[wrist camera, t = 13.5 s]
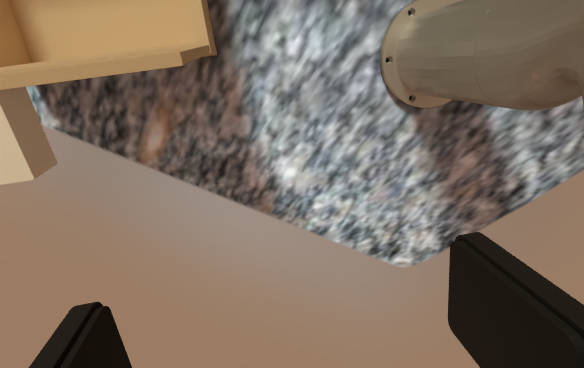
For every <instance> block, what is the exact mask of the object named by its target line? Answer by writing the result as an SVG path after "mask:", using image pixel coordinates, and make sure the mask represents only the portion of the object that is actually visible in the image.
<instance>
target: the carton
mask: <svg viewBox="0 0 584 368" xmlns="http://www.w3.org/2000/svg"><path fill="white" fill-rule="evenodd" d="M204 45H209V49H210V52H209V53H207V54H205V55H203V56H201V57H208V56H215V55H217V50H216V45H215V39H214V34H213V29H212V23H211V18H210V13H209V7H208V2H207V0H0V72H2V71H10V70H18V69H25V68H33V67H41V66H49V65H56V64H64V63H72V62H80V61H87V60H95V59H103V58H111V57H119V56H126V55H134V54H142V53H150V52H157V51H165V50H173V49H181V48H188V47H196V46H204ZM199 58H200V57H199Z"/></svg>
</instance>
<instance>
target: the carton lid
mask: <svg viewBox="0 0 584 368" xmlns="http://www.w3.org/2000/svg"><path fill="white" fill-rule="evenodd" d="M209 52H210V49H209V45H204V46H196V47H188V48H181V49H173V50H165V51H157V52H150V53H142V54H134V55H126V56H119V57H111V58H103V59H95V60H87V61H80V62H72V63H64V64H56V65H49V66H41V67H33V68H25V69H18V70H10V71H2V72H0V185H2V184H8V183H15V182H22V181H28V180H35V179H36V178H37V177H39V176H40V175H42V174H43V173H45V172H46V171H48V170H49V169H51V168H52V167H53V166H55V165H56V164H57V161H56V159H55V156H54V154H53V151H52V149H51V147H50V144H49V142H48V140H47V137H46V135H45V132H44V130H43V128H42V125H41V123H40V120H39V118H38V116H37V113H36V111H35V109H34V106H33V104H32V101H31V99H30V97H29V94H28V92H27V89H26V86H34V85H41V84H49V83H56V82H64V81H71V80H79V79H86V78H94V77H101V76H109V75H116V74H124V73H132V72H139V71H147V70H154V69H162V68H169V67H177V66H183V65H185V64H187V63H189V62H191V61H193V60H195V59H197V58H199V57H201V56H203V55H205V54H207V53H209Z"/></svg>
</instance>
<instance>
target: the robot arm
mask: <svg viewBox="0 0 584 368" xmlns="http://www.w3.org/2000/svg"><path fill="white" fill-rule="evenodd" d="M408 11H409V12H410V15H408ZM386 58H388V62H386ZM380 66H381V72H382V76H383V78H384V81H385V84H386V85H387V87H388V88H389V90H390V92H391V93H392V94H393V95H394V96H395V97H396V98H398V99H399V100H400V101H402V102H403V103H406V104H408V105H411V106H414V107H419V108H433V107H439V106H441V105H444V104H447V103H449V102H450V101H452V100H459V101H465V102H471V103H477V104H484V105H490V106H496V107H503V108H509V109H516V110H525V111H537V110H545V109H550V108H554V107H557V106H560V105H563V104H566V103H568V102H570V101H572V100H574V99H576V98H578V97H580V96H582V98H583V110H584V0H415V1H413V2H412V3H410V4H408V5H407V6H406V7H404V8H403V9H402V10H401V11H400V12H399V13H398V14H397V15H396V16H395V18H394V19H393V20H392V21H391V23H390V25H389V27H388V28H387V30H386V32H385V35H384V38H383V41H382V45H381V51H380ZM409 97H411V98H410V100H409ZM449 269H450V270H449V299H448V300H449V301H448V322H449V326H450V328H451V330H452V332H453V333H454V335H455V336H456V337H457V338H458V340H459V341H460V342H461V344H462V345H463V346H464V348H465V349H466V350H467V351H468V352H469V354H470V355H471V356H472V358H473V359H474V360H475V362H476V363H477V364H478V365H479V367H480V368H584V305H583V304H581V303H580V302H579V301H577V300H576V299H574V298H573V297H571V296H570V295H569V294H567V293H566V292H564V291H563V290H561V289H560V288H559V287H557V286H556V285H554V284H553V283H551V282H550V281H549V280H547V279H546V278H544V277H543V276H542V275H540V274H539V273H537V272H536V271H534V270H533V269H532V268H530V267H529V266H527V265H526V264H525V263H523V262H522V261H520V260H519V259H517V258H516V257H515V256H513V255H512V254H510V253H509V252H507V251H506V250H505V249H503V248H502V247H500V246H499V245H498V244H496V243H495V242H493V241H492V240H490V239H489V238H488V237H486V236H485V235H483V234H482V233H480V232H475V233H469V234H464V235H458V236H457V237H456V239H455V242H452V243H451V245H450V268H449ZM29 368H132V366H131V364H130V361H129V358H128V355H127V353H126V350H125V348H124V345H123V342H122V339H121V337H120V335H119V332H118V329H117V326H116V323H115V321H114V318H113V315H112V313H111V310H110V308H109V307H108V306H103V305H102V304H101V303H100V302H94V303H88V304H83V305H77V306H74V307H73V308H72V309H71V310H70V311H69V313H68V314H67V315H66V317H65V318H64V319H63V321H62V322H61V324H60V325H59V326H58V328H57V329H56V330H55V332H54V333H53V335H52V336H51V338H50V339H49V340H48V342H47V343H46V344H45V346H44V347H43V349H42V350H41V351H40V353H39V354H38V356H37V357H36V358H35V360H34V361H33V363H32V364H31V365H30V367H29Z"/></svg>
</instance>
